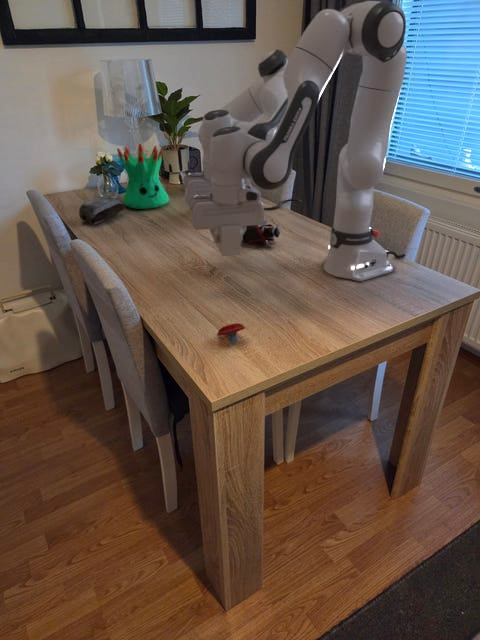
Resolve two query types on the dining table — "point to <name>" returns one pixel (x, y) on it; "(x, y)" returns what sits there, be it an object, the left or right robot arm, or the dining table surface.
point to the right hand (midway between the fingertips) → (228, 241)
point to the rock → (100, 209)
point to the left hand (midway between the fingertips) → (218, 217)
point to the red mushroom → (231, 331)
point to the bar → (228, 240)
